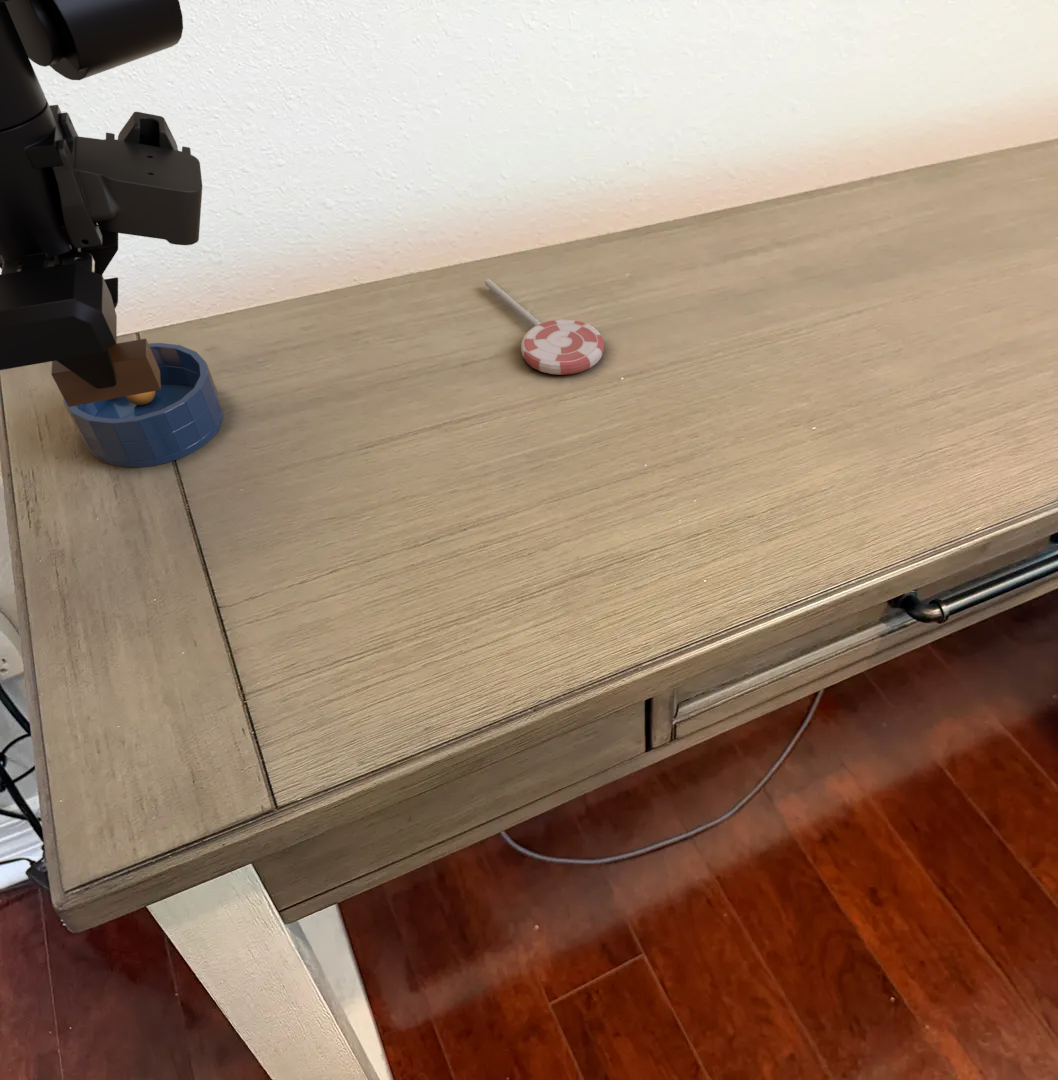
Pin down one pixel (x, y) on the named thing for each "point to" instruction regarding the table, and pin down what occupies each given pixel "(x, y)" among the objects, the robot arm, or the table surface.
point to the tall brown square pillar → (131, 373)
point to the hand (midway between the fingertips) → (107, 375)
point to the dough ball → (142, 398)
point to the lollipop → (556, 342)
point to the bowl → (155, 415)
